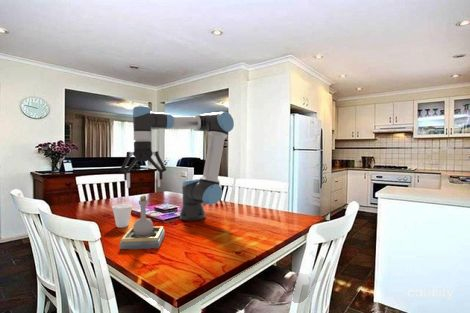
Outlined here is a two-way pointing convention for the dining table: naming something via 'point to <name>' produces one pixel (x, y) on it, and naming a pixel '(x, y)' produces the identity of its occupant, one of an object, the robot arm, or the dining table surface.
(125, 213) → the cup
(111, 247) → the dining table surface
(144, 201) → the potion bottle
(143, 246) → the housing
